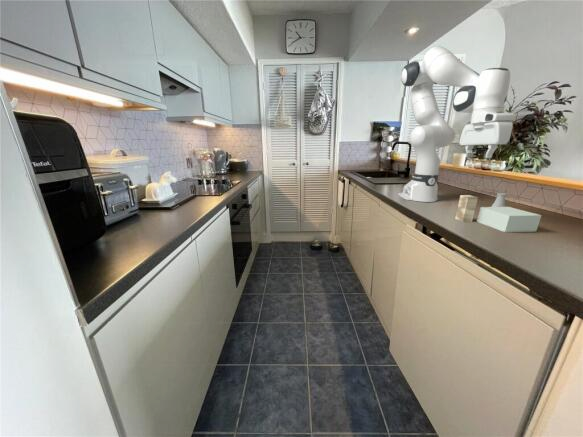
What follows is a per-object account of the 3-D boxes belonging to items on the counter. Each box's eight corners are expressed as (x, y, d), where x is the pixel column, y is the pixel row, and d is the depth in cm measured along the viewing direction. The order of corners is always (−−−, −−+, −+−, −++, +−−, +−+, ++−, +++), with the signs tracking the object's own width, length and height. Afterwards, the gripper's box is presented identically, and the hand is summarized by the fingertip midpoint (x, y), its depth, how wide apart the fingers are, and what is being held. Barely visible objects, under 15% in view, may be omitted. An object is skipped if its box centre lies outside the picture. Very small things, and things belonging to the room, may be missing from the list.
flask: (507, 219, 97) (514, 196, 94) (485, 216, 101) (491, 193, 98) (506, 215, 102) (512, 193, 99) (484, 212, 107) (490, 191, 104)
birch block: (455, 218, 97) (460, 195, 94) (464, 218, 98) (469, 195, 95) (462, 221, 94) (468, 197, 91) (471, 221, 94) (478, 197, 91)
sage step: (476, 221, 94) (480, 207, 92) (504, 221, 95) (508, 206, 93) (504, 232, 83) (509, 215, 81) (536, 231, 83) (541, 215, 82)
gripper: (458, 122, 95) (452, 157, 99) (499, 114, 75) (490, 158, 79) (474, 121, 95) (467, 157, 99) (520, 114, 75) (509, 158, 79)
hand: (477, 157), depth 89 cm, fingers open, 8 cm apart
